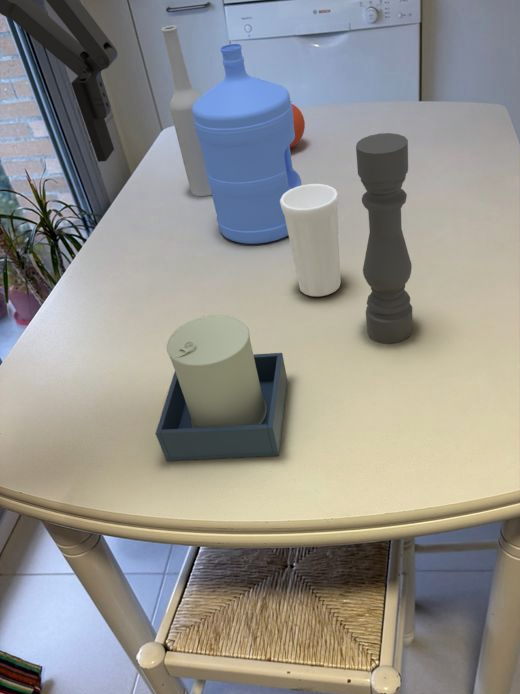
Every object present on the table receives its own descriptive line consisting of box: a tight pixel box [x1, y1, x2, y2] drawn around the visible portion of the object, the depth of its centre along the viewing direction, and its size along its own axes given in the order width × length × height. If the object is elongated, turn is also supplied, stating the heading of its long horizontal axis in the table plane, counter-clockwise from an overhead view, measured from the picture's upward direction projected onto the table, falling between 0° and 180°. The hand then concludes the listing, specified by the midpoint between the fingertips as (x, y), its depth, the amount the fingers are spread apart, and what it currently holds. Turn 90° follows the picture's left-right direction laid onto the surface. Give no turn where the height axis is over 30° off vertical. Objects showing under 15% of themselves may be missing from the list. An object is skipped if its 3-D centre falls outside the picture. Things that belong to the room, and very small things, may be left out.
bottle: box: [161, 24, 212, 197], centre depth 118 cm, size 7×7×28 cm
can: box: [166, 314, 267, 428], centre depth 74 cm, size 9×9×12 cm
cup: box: [280, 183, 342, 297], centre depth 93 cm, size 8×8×14 cm
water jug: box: [192, 43, 303, 245], centre depth 105 cm, size 16×16×28 cm
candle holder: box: [355, 132, 414, 344], centre depth 79 cm, size 6×6×25 cm
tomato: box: [289, 100, 306, 149], centre depth 135 cm, size 10×10×10 cm
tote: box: [154, 352, 288, 462], centre depth 77 cm, size 13×13×4 cm
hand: (35, 162), depth 59 cm, fingers open, 13 cm apart
